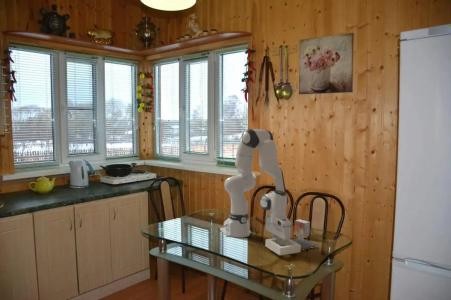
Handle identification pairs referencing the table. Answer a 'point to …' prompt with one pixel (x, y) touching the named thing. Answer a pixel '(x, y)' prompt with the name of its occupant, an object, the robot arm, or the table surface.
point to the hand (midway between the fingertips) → (276, 242)
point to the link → (283, 250)
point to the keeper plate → (304, 242)
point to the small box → (302, 227)
